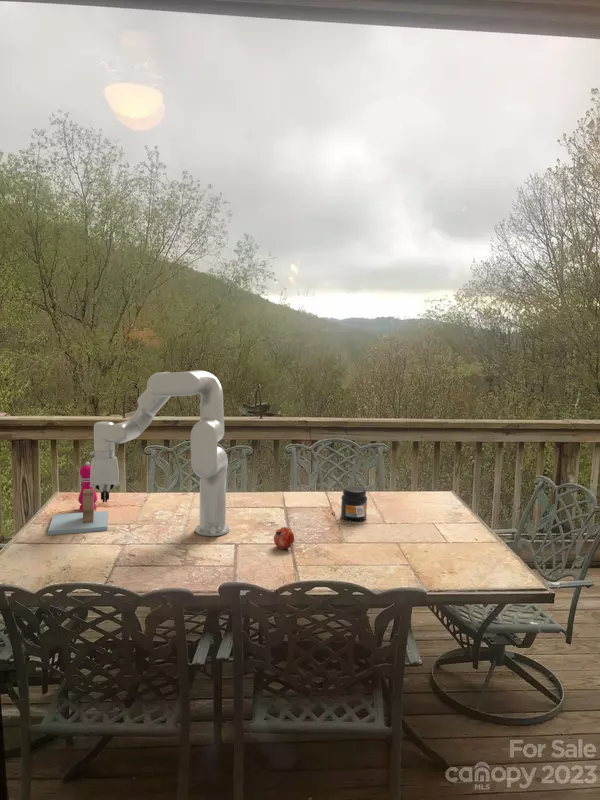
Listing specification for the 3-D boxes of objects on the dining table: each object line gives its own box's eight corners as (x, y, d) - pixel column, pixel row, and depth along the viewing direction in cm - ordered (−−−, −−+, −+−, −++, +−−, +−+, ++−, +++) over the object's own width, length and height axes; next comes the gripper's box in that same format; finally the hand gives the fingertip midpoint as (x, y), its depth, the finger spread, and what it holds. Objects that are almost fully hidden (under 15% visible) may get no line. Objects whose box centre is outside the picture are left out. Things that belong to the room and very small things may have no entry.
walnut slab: (93, 522, 206) (92, 493, 205) (83, 522, 204) (82, 494, 203) (93, 516, 212) (93, 488, 211) (84, 517, 211) (83, 489, 210)
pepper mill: (90, 505, 231) (90, 459, 229) (100, 509, 227) (100, 461, 225) (74, 509, 225) (74, 461, 223) (85, 513, 221) (84, 464, 219)
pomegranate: (282, 549, 193) (263, 536, 188) (294, 531, 194) (276, 518, 189) (293, 558, 187) (274, 545, 182) (305, 540, 188) (287, 527, 183)
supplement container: (363, 523, 217) (364, 493, 216) (337, 519, 220) (338, 490, 219) (368, 515, 227) (370, 487, 226) (344, 512, 230) (345, 484, 229)
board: (107, 530, 201) (107, 526, 201) (47, 535, 195) (47, 531, 195) (108, 514, 220) (108, 510, 220) (53, 518, 214) (53, 514, 214)
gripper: (82, 456, 202) (83, 505, 204) (125, 455, 207) (125, 503, 208) (84, 453, 209) (84, 500, 211) (125, 451, 214) (125, 497, 216)
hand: (104, 501), depth 210 cm, fingers closed
